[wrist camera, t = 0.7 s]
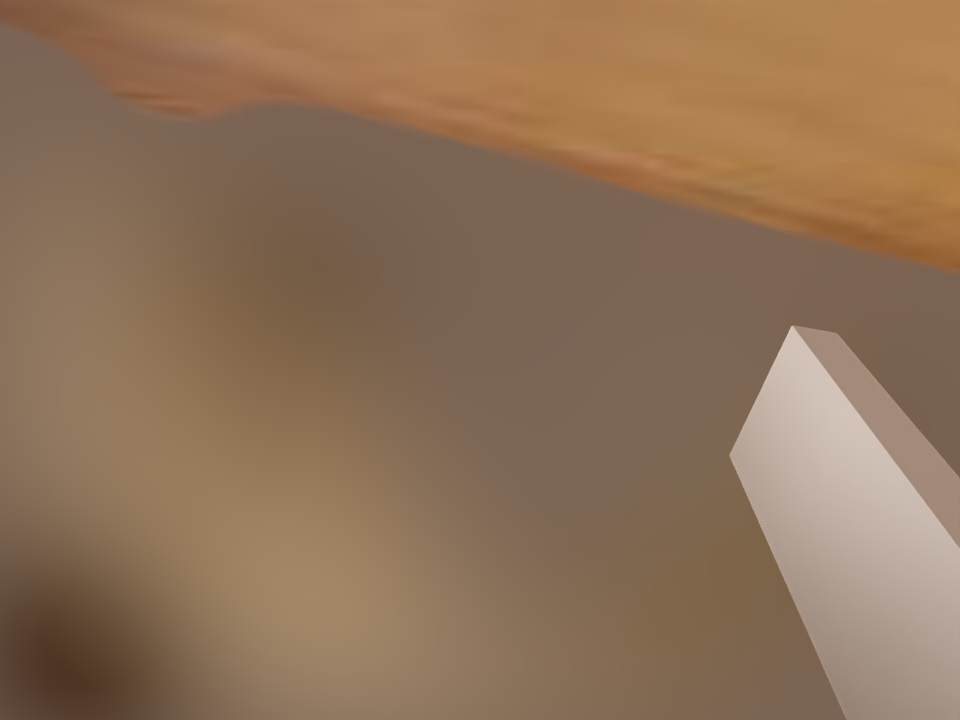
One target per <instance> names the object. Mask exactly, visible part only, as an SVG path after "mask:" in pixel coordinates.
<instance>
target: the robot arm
mask: <svg viewBox="0 0 960 720" xmlns="http://www.w3.org/2000/svg"><path fill="white" fill-rule="evenodd" d="M729 456H730V458H731V460H732V463H733V465H734V467H735V469H736V472H737V474H738V476H739V478H740V481H741V483H742V485H743V487H744V489H745V492H746V494H747V496H748V499H749V501H750V503H751V505H752V508H753V510H754V512H755V514H756V516H757V519H758V521H759V523H760V526H761V528H762V530H763V532H764V535H765V537H766V539H767V541H768V544H769V546H770V548H771V550H772V553H773V555H774V557H775V560H776V562H777V564H778V566H779V568H780V571H781V573H782V575H783V578H784V580H785V582H786V584H787V587H788V589H789V591H790V593H791V596H792V598H793V600H794V602H795V605H796V607H797V609H798V611H799V613H800V616H801V618H802V620H803V623H804V625H805V627H806V629H807V632H808V634H809V636H810V638H811V641H812V643H813V645H814V647H815V649H816V652H817V654H818V656H819V659H820V661H821V663H822V665H823V668H824V670H825V672H826V675H827V677H828V679H829V681H830V684H831V686H832V688H833V690H834V693H835V695H836V697H837V699H838V702H839V704H840V706H841V708H842V710H843V713H844V715H845V717H846V720H960V478H959V477H958V476H957V474H956V473H955V472H954V471H953V470H952V468H951V467H950V466H949V465H948V464H947V463H946V462H945V460H944V459H943V458H942V457H941V456H940V454H939V453H938V452H937V451H936V450H935V449H934V447H933V446H932V445H931V444H930V443H929V441H928V440H927V439H926V438H925V437H924V436H923V434H922V433H921V432H920V431H919V430H918V428H917V427H916V426H915V425H914V424H913V423H912V421H911V420H910V419H909V418H908V417H907V416H906V414H905V413H904V412H903V411H902V410H901V408H900V407H899V406H898V405H897V404H896V402H895V401H894V400H893V399H892V398H891V397H890V395H889V394H888V393H887V392H886V391H885V389H884V388H883V387H882V386H881V385H880V384H879V382H878V381H877V380H876V379H875V378H874V376H873V375H872V374H871V373H870V372H869V371H868V370H867V368H866V367H865V366H864V365H863V364H862V362H861V361H860V360H859V359H858V358H857V356H856V355H855V354H854V353H853V352H852V351H851V349H850V348H849V347H848V346H847V345H846V343H844V341H843V340H842V339H841V338H840V336H839V335H838V334H837V333H833V332H827V331H822V330H816V329H810V328H805V327H799V326H794V325H792V326H791V328H790V331H789V333H788V335H787V337H786V339H785V341H784V343H783V345H782V347H781V349H780V351H779V353H778V355H777V358H776V360H775V362H774V364H773V366H772V368H771V370H770V372H769V374H768V376H767V378H766V380H765V383H764V385H763V387H762V389H761V391H760V393H759V395H758V397H757V399H756V402H755V403H754V406H753V407H752V410H751V412H750V414H749V416H748V418H747V420H746V422H745V424H744V426H743V428H742V430H741V433H740V435H739V437H738V439H737V441H736V443H735V445H734V447H733V449H732V451H731V453H730V455H729Z"/></svg>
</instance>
